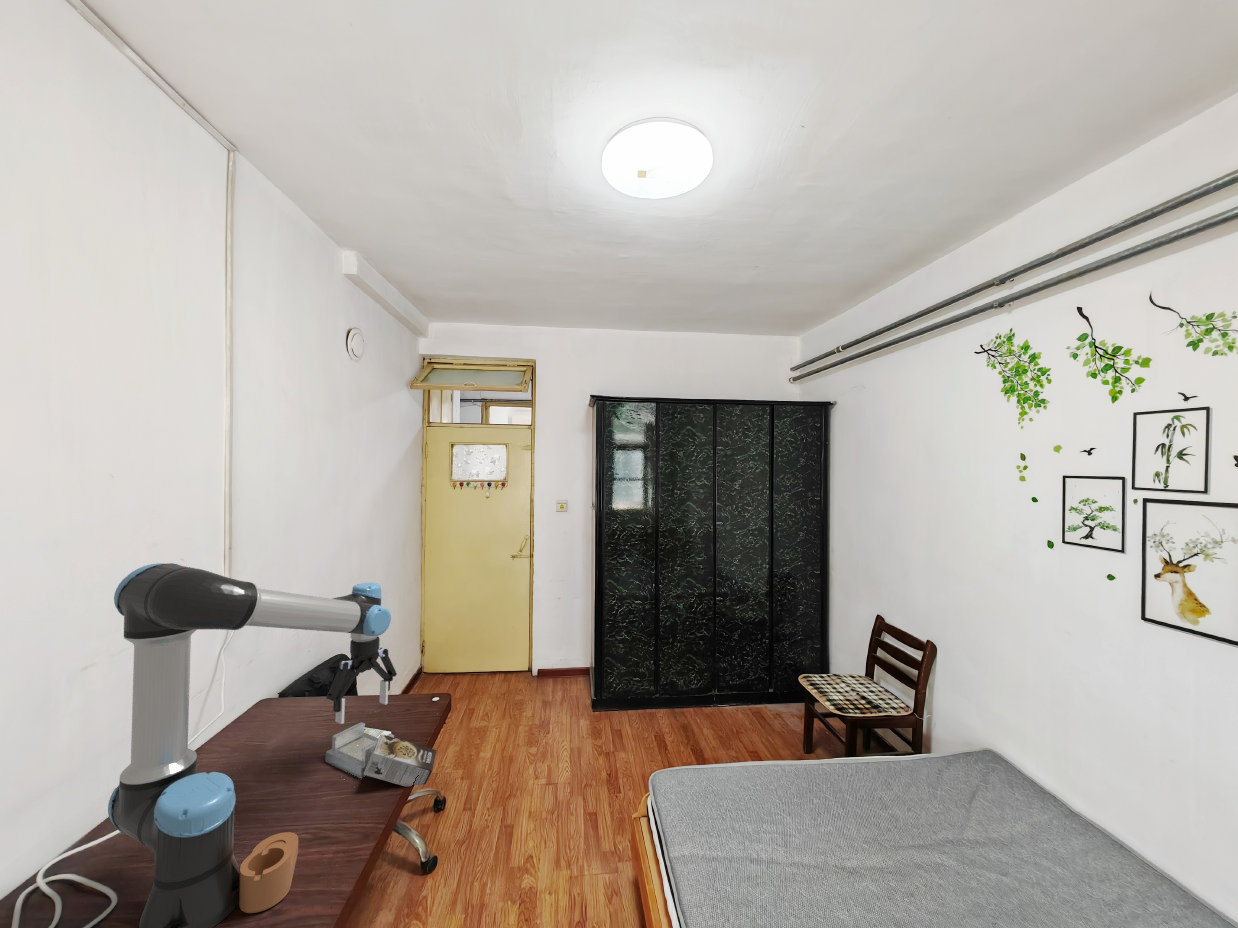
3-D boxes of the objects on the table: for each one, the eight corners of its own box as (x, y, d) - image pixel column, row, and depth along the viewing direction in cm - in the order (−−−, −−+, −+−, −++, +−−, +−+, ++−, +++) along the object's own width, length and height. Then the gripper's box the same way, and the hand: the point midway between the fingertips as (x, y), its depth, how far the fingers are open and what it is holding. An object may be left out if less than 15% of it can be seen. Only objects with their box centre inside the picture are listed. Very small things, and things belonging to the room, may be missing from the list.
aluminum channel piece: (361, 779, 135) (361, 753, 135) (325, 762, 142) (325, 737, 142) (399, 757, 145) (399, 733, 145) (364, 742, 153) (364, 719, 153)
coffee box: (381, 732, 138) (437, 748, 142) (370, 754, 138) (426, 769, 142) (373, 752, 129) (433, 769, 133) (362, 775, 129) (422, 792, 133)
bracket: (286, 903, 97) (287, 867, 97) (234, 919, 93) (234, 881, 93) (300, 839, 113) (301, 809, 113) (256, 851, 110) (256, 819, 110)
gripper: (330, 653, 131) (327, 734, 131) (410, 628, 153) (408, 698, 153) (313, 648, 135) (310, 727, 134) (394, 624, 157) (391, 693, 156)
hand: (362, 712), depth 143 cm, fingers open, 13 cm apart
